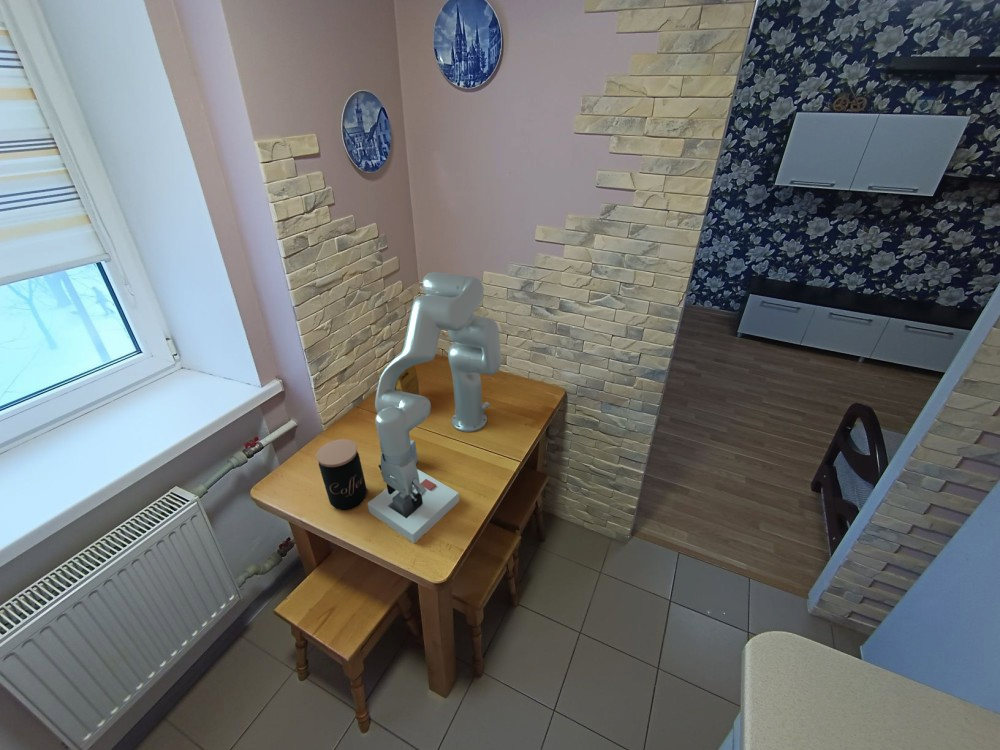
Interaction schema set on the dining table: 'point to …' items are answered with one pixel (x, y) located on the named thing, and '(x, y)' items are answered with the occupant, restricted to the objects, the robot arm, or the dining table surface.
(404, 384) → the coffee package
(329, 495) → the coffee jar
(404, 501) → the plug
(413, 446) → the medicine box
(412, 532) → the socket plate
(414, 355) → the robot arm
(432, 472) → the dining table surface
